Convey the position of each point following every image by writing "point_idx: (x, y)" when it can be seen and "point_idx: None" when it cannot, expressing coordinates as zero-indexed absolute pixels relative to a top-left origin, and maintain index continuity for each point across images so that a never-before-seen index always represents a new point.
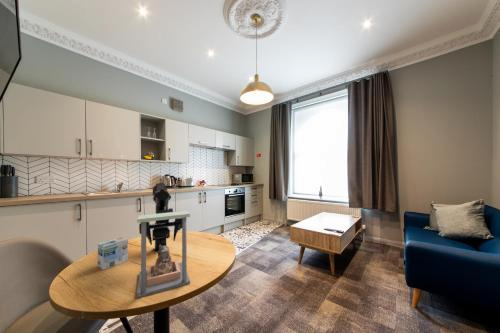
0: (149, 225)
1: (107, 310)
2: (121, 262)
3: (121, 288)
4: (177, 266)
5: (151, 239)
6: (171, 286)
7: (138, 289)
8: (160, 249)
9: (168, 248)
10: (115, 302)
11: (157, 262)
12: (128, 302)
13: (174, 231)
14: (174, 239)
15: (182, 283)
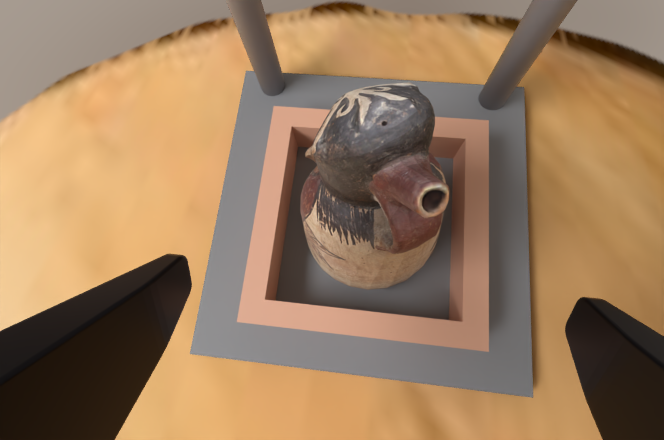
0: None
1: (639, 74)
2: None
3: (618, 246)
4: (269, 193)
5: (651, 353)
6: (346, 78)
7: (519, 137)
8: (428, 101)
9: (321, 126)
10: (617, 118)
11: (433, 157)
12: (552, 85)
13: (8, 366)
14: (168, 255)
15: (288, 74)
